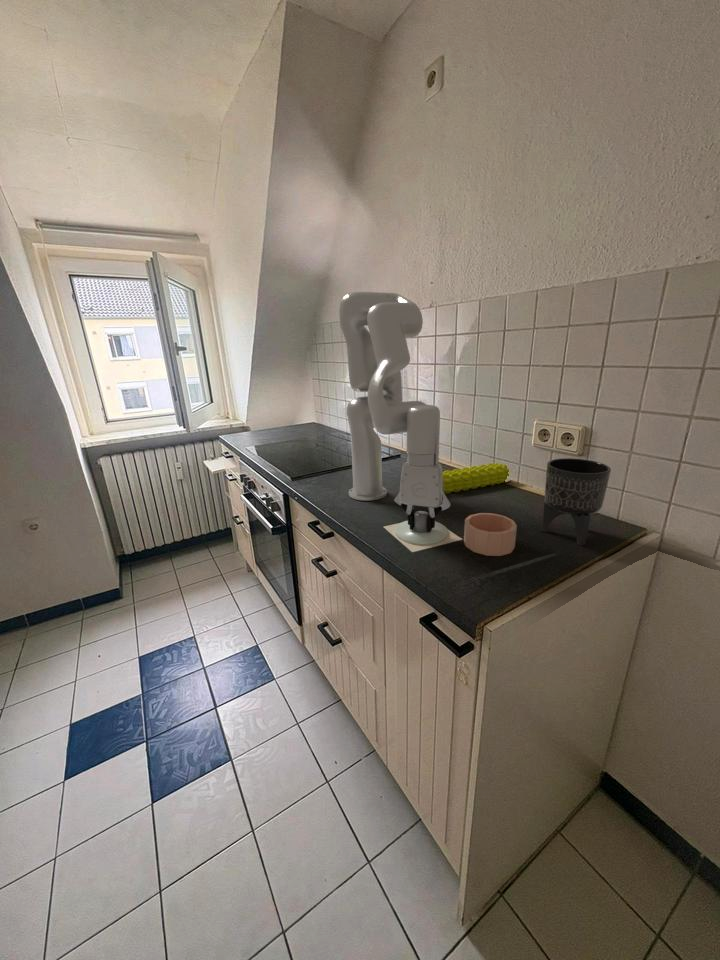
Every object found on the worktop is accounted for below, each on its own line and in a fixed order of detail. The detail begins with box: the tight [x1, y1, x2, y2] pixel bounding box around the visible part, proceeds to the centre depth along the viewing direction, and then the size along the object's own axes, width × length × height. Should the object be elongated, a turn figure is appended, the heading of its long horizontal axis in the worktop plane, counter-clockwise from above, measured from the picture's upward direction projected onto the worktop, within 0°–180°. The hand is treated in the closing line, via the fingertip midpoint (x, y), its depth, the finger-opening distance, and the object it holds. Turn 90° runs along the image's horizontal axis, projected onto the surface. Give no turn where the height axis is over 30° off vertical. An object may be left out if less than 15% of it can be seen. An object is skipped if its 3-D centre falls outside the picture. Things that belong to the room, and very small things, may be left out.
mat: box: [383, 520, 464, 553], centre depth 95 cm, size 15×14×1 cm
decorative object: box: [442, 462, 509, 495], centre depth 126 cm, size 7×33×7 cm, turn 112°
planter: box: [541, 457, 612, 546], centre depth 90 cm, size 13×13×18 cm
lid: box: [395, 510, 449, 545], centre depth 94 cm, size 13×13×5 cm
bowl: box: [463, 512, 518, 557], centre depth 88 cm, size 11×11×6 cm
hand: (421, 528), depth 94 cm, fingers open, 3 cm apart
